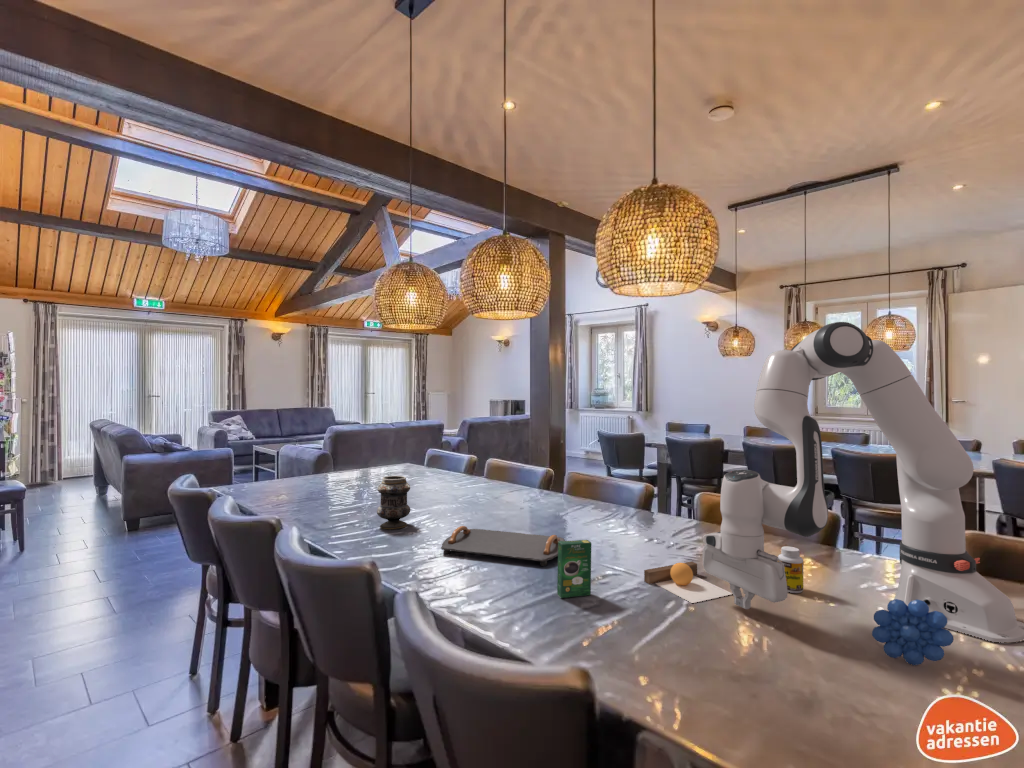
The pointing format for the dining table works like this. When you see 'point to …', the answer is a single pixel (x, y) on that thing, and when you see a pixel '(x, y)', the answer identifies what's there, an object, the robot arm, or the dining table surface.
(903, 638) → the blue bumpy cluster
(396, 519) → the apothecary jar
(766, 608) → the dining table surface
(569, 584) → the coffee box
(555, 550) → the serving board
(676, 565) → the ball
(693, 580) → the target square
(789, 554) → the supplement bottle
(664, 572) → the stop rail
